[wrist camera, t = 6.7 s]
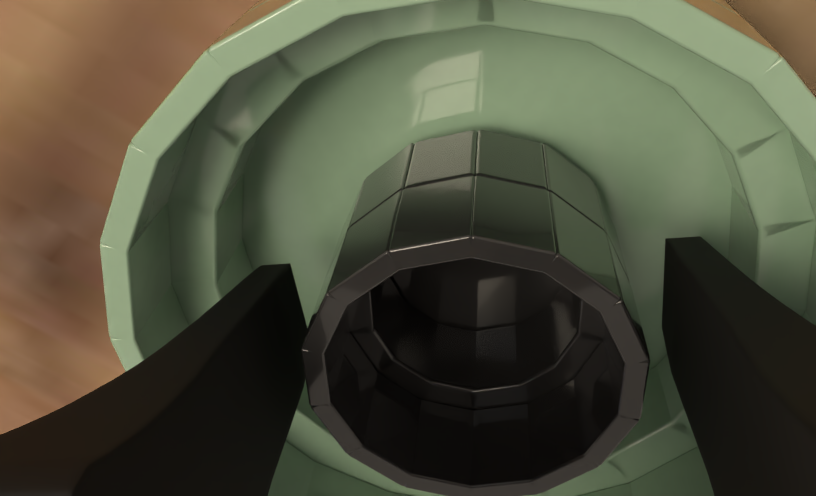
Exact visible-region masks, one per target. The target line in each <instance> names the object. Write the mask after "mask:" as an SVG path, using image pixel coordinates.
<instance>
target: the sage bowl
mask: <svg viewBox="0 0 816 496" xmlns="http://www.w3.org/2000/svg"><path fill="white" fill-rule="evenodd" d="M470 130H476V131H477V132H478V131H479V130H485V131H490V132H495V133H500V134H504V135H509V136H514V137H518V138H523V139H528V140H533V141H537V142H540V143H542V144H543V143H545V144H547V145H548V146H550V147H551V148H552V149H554V150H555V151H556V152H558V153H559V154H560V155H561V156H563V157H564V158H565V159H567V160H568V161H569V162H571V163H572V164H573V165H575V166H576V167H577V168H579V169H580V170H581V171H583V172H584V173H585V174H587V175H588V176H589V177H590V178H592V180H593V183H594V184H596V186H597V188H598V190H599V193H600V195H601V197H602V199H603V202H604V204H605V206H606V208H607V210H608V213H609V215H610V217H611V219H612V222H613V224H614V226H615V228H616V231H617V235H618V239H619V243H620V247H621V250H622V254H623V258H624V262H625V266H626V269H627V273H628V277H629V282H630V285H631V287H632V291H633V295H634V299H635V303H636V306H637V310H638V314H639V318H640V322H641V325H642V329H643V333H644V337H645V341H646V344H647V348H648V352H649V356H650V367H649V373H648V379H647V385H646V391H645V397H644V403H643V409H642V415H641V418H640V420H639V422H638V423H637V424H636V426H635V427H634V428H633V429H632V430H631V431H630V432H629V434H628V435H627V436H626V437H625V438H624V439H623V440H622V442H621V443H620V444H619V445H618V446H617V447H616V449H615V450H614V451H613V452H612V453H611V454H610V455H609V457H608V458H607V459H606V460H605V461H604V462H603V463H602V465H599V467H598V468H596V469H593V470H591V471H589V472H587V473H585V474H583V475H580V476H578V477H576V478H574V479H572V480H570V481H567V482H565V483H563V484H561V485H559V486H557V487H554V488H552V489H550V490H548V491H546V492H544V493H539V494H537V495H527V496H714V492H713V489H712V486H711V483H710V480H709V476H708V473H707V470H706V467H705V464H704V462H703V459H702V456H701V454H700V451H699V448H698V445H697V443H696V440H695V437H694V434H693V432H692V429H691V426H690V423H689V421H688V418H687V415H686V412H685V410H684V407H683V404H682V401H681V399H680V396H679V393H678V390H677V387H676V385H675V382H674V379H673V376H672V373H671V369H670V364H669V360H668V355H667V351H666V346H665V341H664V336H663V331H662V307H663V284H664V260H665V239H666V238H681V237H696V236H700V237H702V238H703V239H704V240H705V241H706V242H708V243H709V244H710V245H711V246H712V247H713V248H715V249H716V250H717V251H718V252H719V253H720V254H721V255H723V256H724V257H725V258H726V259H727V260H728V261H730V262H731V263H732V264H733V265H734V266H735V267H737V268H738V269H739V270H740V271H741V272H743V273H744V274H745V275H746V276H748V277H749V278H750V279H751V280H753V281H754V282H755V283H756V284H758V285H759V286H760V287H761V288H763V289H764V290H765V291H767V292H768V293H769V294H771V295H772V296H773V297H775V298H776V299H777V300H779V301H780V302H781V303H783V304H784V305H786V306H787V307H789V308H790V309H792V310H793V311H795V312H796V313H797V314H799V315H800V316H802V317H803V318H805V319H806V320H808V321H809V322H811V323H813V324H814V325H816V97H815V96H814V95H813V93H812V92H811V91H810V90H809V88H808V87H807V86H806V85H805V83H804V82H803V81H802V80H801V78H800V77H799V76H798V75H797V73H796V72H795V71H794V70H793V68H792V67H791V66H790V65H789V63H788V62H787V61H786V60H785V58H784V57H783V56H782V55H781V54H780V53H779V52H778V51H777V50H776V49H775V48H773V47H772V46H771V45H770V44H769V43H768V42H767V41H766V40H765V39H764V38H763V37H762V36H761V35H760V34H759V33H758V32H757V31H756V30H755V29H754V28H753V27H752V26H751V25H750V24H749V23H748V22H747V21H745V20H744V19H743V18H742V17H741V16H740V15H739V14H738V13H737V12H736V11H735V10H734V9H733V8H732V7H731V6H730V5H729V4H728V3H727V2H726V1H725V0H259V1H258V2H257V3H256V4H255V5H254V6H253V7H251V8H250V9H249V10H248V11H247V12H246V13H245V14H244V15H243V16H242V17H241V18H239V19H238V20H237V21H236V22H235V23H234V24H233V25H232V26H231V27H230V28H229V29H228V30H226V31H225V32H224V33H223V34H222V35H221V36H220V37H219V38H218V39H217V40H216V41H215V42H213V43H212V44H211V45H210V46H209V47H208V48H207V49H206V50H205V51H204V52H203V53H202V54H201V56H200V57H199V58H198V59H197V60H196V62H195V63H194V64H193V65H192V66H191V68H190V69H189V70H188V71H187V73H186V74H185V75H184V76H183V77H182V79H181V80H180V81H179V82H178V83H177V85H176V86H175V87H174V88H173V90H172V91H171V92H170V93H169V94H168V96H167V97H166V98H165V99H164V100H163V102H162V103H161V104H160V105H159V107H158V108H157V109H156V110H155V111H154V113H153V114H152V115H151V116H150V117H149V119H148V120H147V121H146V122H145V124H144V125H143V126H142V127H141V128H140V130H139V131H138V132H137V133H136V134H135V136H134V137H133V138H132V141H131V143H130V144H129V145H128V148H127V152H126V155H125V158H124V162H123V165H122V168H121V172H120V175H119V179H118V182H117V185H116V189H115V192H114V195H113V199H112V202H111V205H110V209H109V212H108V215H107V219H106V222H105V226H104V229H103V232H102V236H101V239H100V252H101V262H102V272H103V282H104V291H105V301H106V311H107V321H108V330H109V337H110V338H111V342H112V344H113V347H114V349H115V351H116V353H117V355H118V357H119V359H120V361H121V363H122V365H123V367H124V369H125V371H128V370H130V369H131V368H133V367H134V366H136V365H137V364H139V363H140V362H142V361H143V360H145V359H146V358H148V357H149V356H150V355H152V354H153V353H155V352H156V351H157V350H159V349H160V348H162V347H163V346H164V345H165V344H167V343H168V342H169V341H171V340H172V339H173V338H174V337H176V336H177V335H178V334H179V333H181V332H182V331H183V330H185V329H186V328H187V327H188V326H190V325H191V324H192V323H193V322H195V321H196V320H197V319H198V318H200V317H201V316H202V315H203V314H204V313H205V312H207V311H208V310H209V309H210V308H211V307H212V306H213V305H215V304H216V303H217V302H218V301H219V300H220V299H222V298H223V297H224V296H225V295H226V294H227V293H228V292H230V291H231V290H232V289H233V288H234V287H235V286H236V285H238V284H239V283H240V282H241V281H242V280H243V279H245V278H246V277H247V276H248V275H249V274H251V273H252V272H253V271H254V270H256V269H257V268H258V267H260V266H261V265H273V264H288V263H290V264H291V268H292V272H293V276H294V279H295V283H296V287H297V291H298V295H299V298H300V302H301V306H302V310H303V313H304V317H305V321H306V325H307V329H308V326H309V323H310V320H311V317H312V314H313V311H314V309H315V306H316V303H317V300H318V297H319V294H320V291H321V288H322V285H323V283H324V280H325V277H326V274H327V271H328V268H329V265H330V263H331V260H332V257H333V254H334V251H335V248H336V245H337V242H338V240H339V237H340V234H341V231H342V228H343V225H344V223H345V221H346V219H347V216H348V214H349V212H350V210H351V208H352V205H353V203H354V201H355V199H356V196H357V194H358V192H359V190H360V187H361V185H362V183H363V181H364V180H365V179H366V177H367V176H369V175H370V174H371V173H373V172H374V171H375V170H376V169H378V168H379V167H380V166H382V165H383V164H384V163H386V162H387V161H388V160H390V159H391V158H392V157H393V156H395V155H396V154H397V153H399V152H400V151H401V150H403V149H404V148H405V147H407V146H408V145H409V144H411V143H414V144H415V143H416V142H419V141H423V140H428V139H433V138H438V137H442V136H447V135H452V134H456V133H461V132H466V131H470ZM268 496H444V495H439V494H434V493H429V492H425V491H420V490H415V489H410V488H406V487H405V486H401V485H399V484H397V483H396V482H394V481H392V480H390V479H389V478H387V477H385V476H383V475H382V474H380V473H378V472H376V471H375V470H373V469H371V468H370V467H368V466H366V465H364V464H363V463H361V462H359V461H357V460H356V459H354V458H352V457H350V456H349V455H348V453H345V451H344V450H343V449H342V447H341V446H340V445H339V444H338V442H337V441H336V440H335V438H334V437H333V436H332V434H331V433H330V432H329V431H328V429H327V428H326V427H325V425H324V424H323V423H322V422H321V420H320V419H319V418H318V416H317V415H316V414H315V412H314V411H313V410H312V409H311V406H310V404H309V399H308V393H307V386H306V380H305V383H304V388H303V391H302V394H301V397H300V400H299V403H298V406H297V409H296V412H295V415H294V418H293V421H292V424H291V427H290V430H289V433H288V435H287V438H286V441H285V444H284V447H283V450H282V453H281V456H280V459H279V462H278V465H277V467H276V470H275V473H274V476H273V479H272V483H271V486H270V489H269V493H268Z"/></svg>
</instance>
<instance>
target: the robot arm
mask: <svg viewBox="0 0 816 496" xmlns="http://www.w3.org/2000/svg"><path fill="white" fill-rule="evenodd" d="M662 331H663V336H664V341H665V346H666V351H667V355H668V360H669V364H670V369H671V373H672V376H673V379H674V382H675V385H676V387H677V390H678V393H679V396H680V399H681V401H682V404H683V407H684V410H685V412H686V415H687V418H688V421H689V423H690V426H691V429H692V432H693V434H694V437H695V440H696V443H697V445H698V448H699V451H700V454H701V456H702V459H703V462H704V464H705V467H706V470H707V473H708V476H709V480H710V483H711V486H712V489H713V492H714V496H816V325H814V324H813V323H811V322H809V321H808V320H806V319H805V318H803V317H802V316H800V315H799V314H797V313H796V312H795V311H793V310H792V309H790V308H789V307H787V306H786V305H784V304H783V303H781V302H780V301H779V300H777V299H776V298H775V297H773V296H772V295H771V294H769V293H768V292H767V291H765V290H764V289H763V288H761V287H760V286H759V285H758V284H756V283H755V282H754V281H753V280H751V279H750V278H749V277H748V276H746V275H745V274H744V273H743V272H741V271H740V270H739V269H738V268H737V267H735V266H734V265H733V264H732V263H731V262H730V261H728V260H727V259H726V258H725V257H724V256H723V255H721V254H720V253H719V252H718V251H717V250H716V249H715V248H713V247H712V246H711V245H710V244H709V243H708V242H706V241H705V240H704V239H703V238H702V237H700V236H696V237H681V238H666V239H665V260H664V284H663V307H662ZM306 332H307V325H306V321H305V317H304V313H303V310H302V306H301V302H300V298H299V295H298V291H297V287H296V283H295V279H294V276H293V272H292V268H291V264H290V263H288V264H273V265H261V266H260V267H258V268H257V269H256V270H254V271H253V272H252V273H251V274H249V275H248V276H247V277H246V278H245V279H243V280H242V281H241V282H240V283H239V284H238V285H236V286H235V287H234V288H233V289H232V290H231V291H230V292H228V293H227V294H226V295H225V296H224V297H223V298H222V299H220V300H219V301H218V302H217V303H216V304H215V305H213V306H212V307H211V308H210V309H209V310H208V311H207V312H205V313H204V314H203V315H202V316H201V317H200V318H198V319H197V320H196V321H195V322H193V323H192V324H191V325H190V326H188V327H187V328H186V329H185V330H183V331H182V332H181V333H179V334H178V335H177V336H176V337H174V338H173V339H172V340H171V341H169V342H168V343H167V344H165V345H164V346H163V347H162V348H160V349H159V350H157V351H156V352H155V353H153V354H152V355H150V356H149V357H148V358H146V359H145V360H143V361H142V362H140V363H139V364H137V365H136V366H134V367H133V368H131V369H130V370H128V371H126V372H125V373H123V374H122V375H120V376H119V377H117V378H115V379H114V380H112V381H110V382H108V383H107V384H105V385H103V386H101V387H99V388H98V389H96V390H94V391H92V392H90V393H89V394H87V395H85V396H83V397H81V398H80V399H78V400H76V401H74V402H72V403H70V404H68V405H66V406H64V407H62V408H60V409H58V410H56V411H54V412H52V413H50V414H48V415H46V416H43V417H41V418H39V419H37V420H34V421H32V422H30V423H28V424H25V425H23V426H21V427H19V428H16V429H14V430H11V431H9V432H6V433H4V434H1V435H0V496H268V493H269V489H270V486H271V483H272V479H273V476H274V473H275V470H276V467H277V465H278V462H279V459H280V456H281V453H282V450H283V447H284V444H285V441H286V438H287V435H288V433H289V430H290V427H291V424H292V421H293V418H294V415H295V412H296V409H297V406H298V403H299V400H300V397H301V394H302V391H303V388H304V383H305V373H304V367H303V360H302V353H301V349H302V343H303V340H304V337H305V334H306Z"/></svg>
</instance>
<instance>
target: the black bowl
mask: <svg viewBox="0 0 816 496" xmlns="http://www.w3.org/2000/svg"><path fill="white" fill-rule="evenodd" d="M301 353H302V360H303V367H304V373H305V380H306V386H307V393H308V399H309V404H310V406H311V409H312V410H313V411H314V412H315V414H316V415H317V416H318V418H319V419H320V420H321V422H322V423H323V424H324V425H325V427H326V428H327V429H328V431H329V432H330V433H331V434H332V436H333V437H334V438H335V440H336V441H337V442H338V444H339V445H340V446H341V447H342V449H343V450H344V451H345V453H348V455H349V456H350V457H352V458H354V459H356V460H357V461H359V462H361V463H363V464H364V465H366V466H368V467H370V468H371V469H373V470H375V471H376V472H378V473H380V474H382V475H383V476H385V477H387V478H389V479H390V480H392V481H394V482H396V483H397V484H399V485H401V486H405V487H406V488H410V489H415V490H420V491H425V492H429V493H434V494H439V495H444V496H527V495H537V494H539V493H544V492H546V491H548V490H550V489H552V488H554V487H557V486H559V485H561V484H563V483H565V482H567V481H570V480H572V479H574V478H576V477H578V476H580V475H583V474H585V473H587V472H589V471H591V470H593V469H596V468H598V467H599V465H602V463H603V462H604V461H605V460H606V459H607V458H608V457H609V455H610V454H611V453H612V452H613V451H614V450H615V449H616V447H617V446H618V445H619V444H620V443H621V442H622V440H623V439H624V438H625V437H626V436H627V435H628V434H629V432H630V431H631V430H632V429H633V428H634V427H635V426H636V424H637V423H638V422H639V420H640V418H641V415H642V409H643V403H644V397H645V391H646V385H647V379H648V373H649V367H650V356H649V352H648V348H647V344H646V341H645V337H644V333H643V329H642V325H641V322H640V318H639V314H638V310H637V306H636V303H635V299H634V295H633V291H632V287H631V285H630V282H629V277H628V273H627V269H626V266H625V262H624V258H623V254H622V250H621V247H620V243H619V239H618V235H617V231H616V228H615V226H614V224H613V222H612V219H611V217H610V215H609V213H608V210H607V208H606V206H605V204H604V202H603V199H602V197H601V195H600V193H599V190H598V188H597V186H596V184H594V183H593V180H592V178H590V177H589V176H588V175H587V174H585V173H584V172H583V171H581V170H580V169H579V168H577V167H576V166H575V165H573V164H572V163H571V162H569V161H568V160H567V159H565V158H564V157H563V156H561V155H560V154H559V153H558V152H556V151H555V150H554V149H552V148H551V147H550V146H548V145H547V144H545V143H543V144H542V143H540V142H537V141H533V140H528V139H523V138H518V137H514V136H509V135H504V134H500V133H495V132H490V131H485V130H479V131H478V132H477V131H476V130H470V131H466V132H461V133H456V134H452V135H447V136H442V137H438V138H433V139H428V140H423V141H419V142H416V143H415V144H414V143H411V144H409V145H408V146H407V147H405V148H404V149H403V150H401V151H400V152H399V153H397V154H396V155H395V156H393V157H392V158H391V159H390V160H388V161H387V162H386V163H384V164H383V165H382V166H380V167H379V168H378V169H376V170H375V171H374V172H373V173H371V174H370V175H369V176H367V177H366V179H365V180H364V181H363V183H362V185H361V187H360V190H359V192H358V194H357V196H356V199H355V201H354V203H353V205H352V208H351V210H350V212H349V214H348V216H347V219H346V221H345V223H344V225H343V228H342V231H341V234H340V237H339V240H338V242H337V245H336V248H335V251H334V254H333V257H332V260H331V263H330V265H329V268H328V271H327V274H326V277H325V280H324V283H323V285H322V288H321V291H320V294H319V297H318V300H317V303H316V306H315V309H314V311H313V314H312V317H311V320H310V323H309V326H308V329H307V332H306V334H305V337H304V340H303V343H302V349H301Z"/></svg>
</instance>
